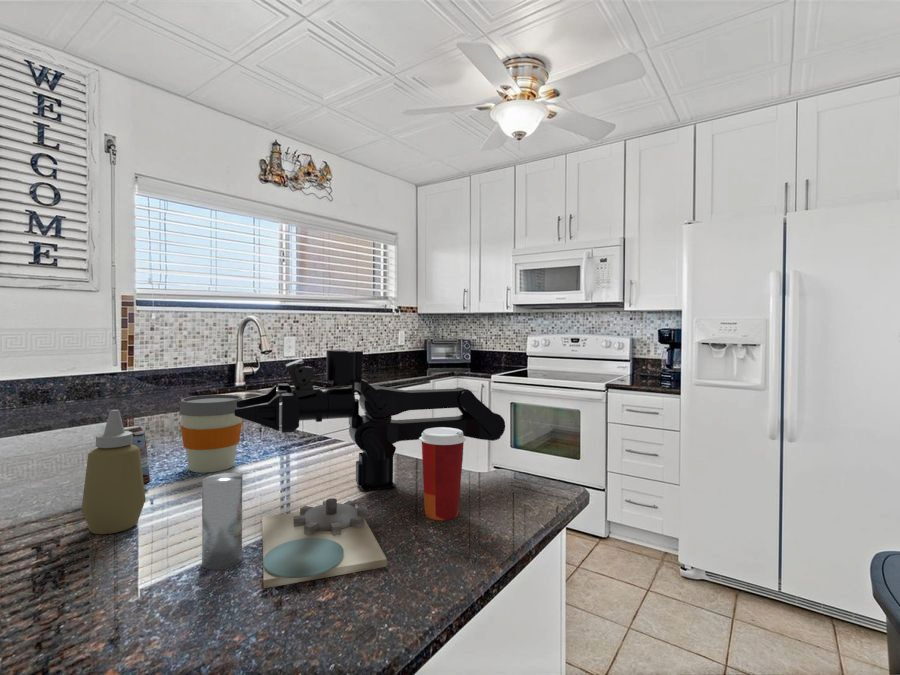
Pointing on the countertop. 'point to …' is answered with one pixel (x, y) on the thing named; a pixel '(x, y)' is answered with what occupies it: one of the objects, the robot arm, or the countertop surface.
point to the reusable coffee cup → (210, 431)
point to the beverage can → (141, 450)
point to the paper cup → (442, 471)
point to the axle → (222, 521)
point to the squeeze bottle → (113, 480)
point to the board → (318, 544)
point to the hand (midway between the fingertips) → (235, 407)
